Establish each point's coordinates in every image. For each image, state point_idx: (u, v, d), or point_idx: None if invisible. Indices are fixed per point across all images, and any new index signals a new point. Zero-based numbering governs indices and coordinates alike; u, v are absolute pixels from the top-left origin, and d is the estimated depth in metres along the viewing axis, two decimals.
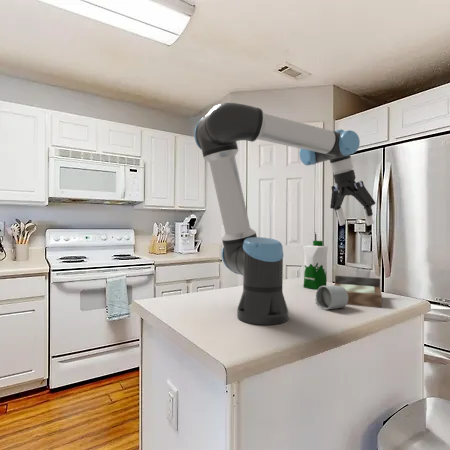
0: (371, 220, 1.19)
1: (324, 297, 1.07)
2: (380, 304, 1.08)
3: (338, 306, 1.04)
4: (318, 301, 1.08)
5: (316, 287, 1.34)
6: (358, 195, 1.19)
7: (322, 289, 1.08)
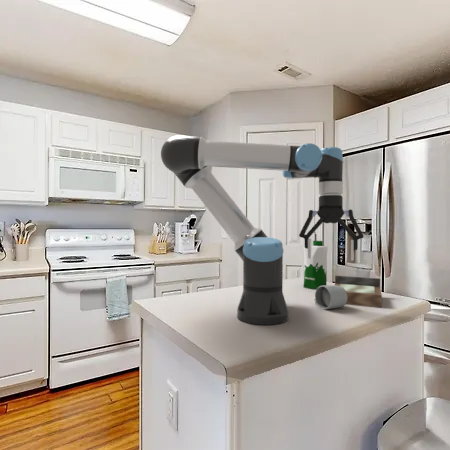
0: None
1: (323, 297, 1.07)
2: (380, 304, 1.08)
3: (337, 306, 1.04)
4: (317, 301, 1.08)
5: (316, 287, 1.34)
6: None
7: (321, 289, 1.08)
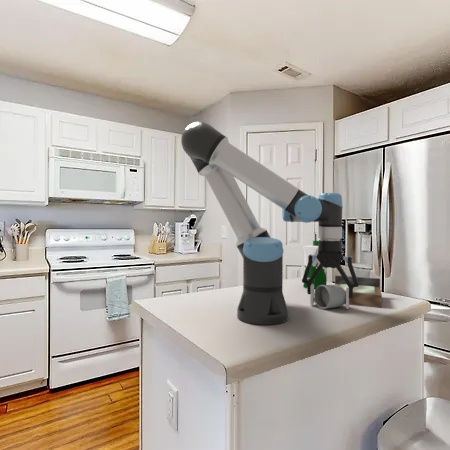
0: None
1: (322, 296, 1.07)
2: (380, 304, 1.08)
3: (336, 305, 1.05)
4: (316, 300, 1.08)
5: (316, 287, 1.34)
6: (343, 271, 1.05)
7: (320, 288, 1.09)
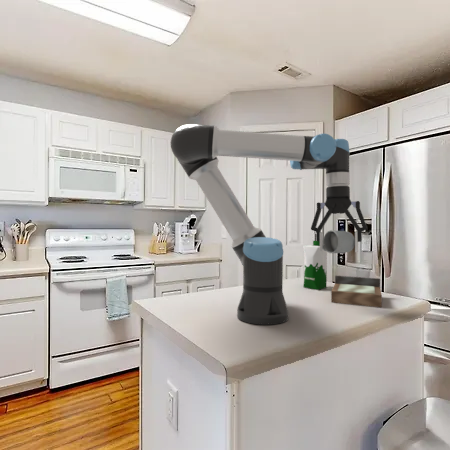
0: None
1: (331, 242, 1.09)
2: (380, 304, 1.08)
3: (345, 249, 1.07)
4: (325, 247, 1.10)
5: (316, 287, 1.34)
6: None
7: (329, 235, 1.11)
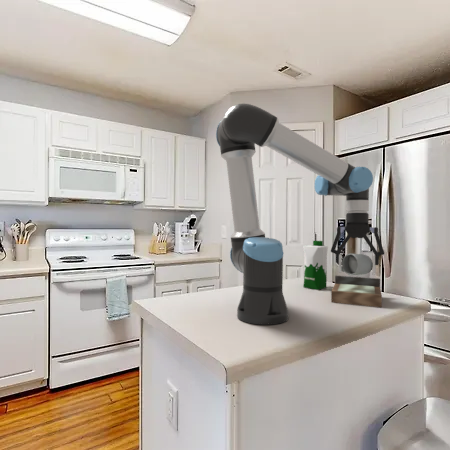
0: None
1: (350, 264, 1.17)
2: (380, 304, 1.08)
3: (363, 272, 1.14)
4: (344, 268, 1.18)
5: (316, 287, 1.34)
6: (370, 241, 1.15)
7: (348, 257, 1.18)
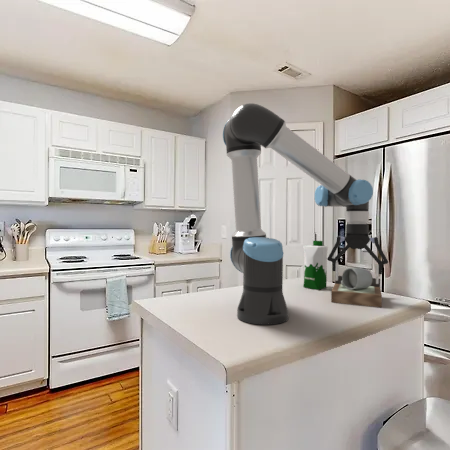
0: None
1: (350, 278, 1.17)
2: (380, 304, 1.08)
3: (363, 286, 1.14)
4: (344, 282, 1.18)
5: (316, 287, 1.34)
6: (371, 250, 1.14)
7: (348, 271, 1.18)
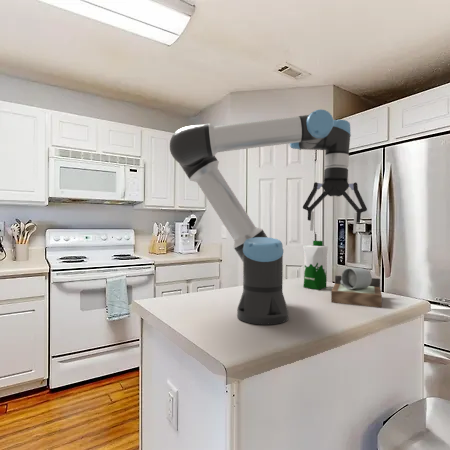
0: None
1: (349, 278, 1.17)
2: (380, 304, 1.08)
3: (362, 286, 1.15)
4: (343, 282, 1.18)
5: (316, 287, 1.34)
6: None
7: (347, 271, 1.19)
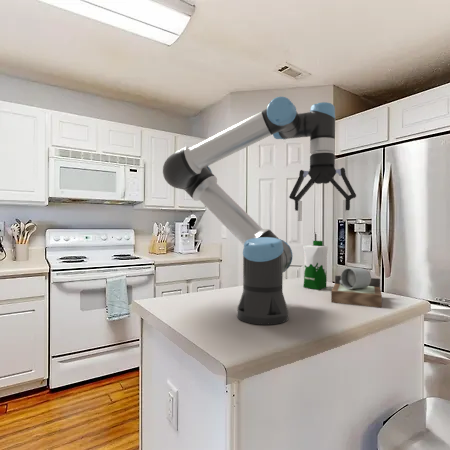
0: None
1: (348, 278, 1.17)
2: (380, 304, 1.08)
3: (362, 286, 1.15)
4: (343, 282, 1.19)
5: (316, 287, 1.34)
6: None
7: (346, 271, 1.19)
